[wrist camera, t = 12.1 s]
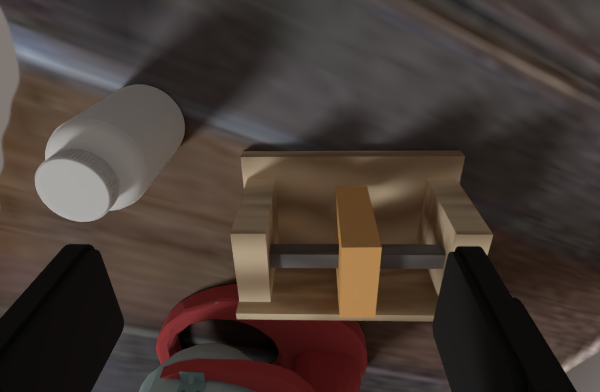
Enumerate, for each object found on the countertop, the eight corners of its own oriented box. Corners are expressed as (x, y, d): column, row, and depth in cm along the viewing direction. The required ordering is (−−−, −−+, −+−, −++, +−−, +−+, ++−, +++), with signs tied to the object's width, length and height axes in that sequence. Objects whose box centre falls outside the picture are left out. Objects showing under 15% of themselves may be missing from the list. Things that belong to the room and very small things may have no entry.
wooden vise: (242, 151, 42) (221, 208, 32) (460, 150, 41) (507, 209, 31) (252, 247, 48) (236, 319, 39) (440, 248, 48) (473, 322, 38)
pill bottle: (192, 94, 39) (132, 159, 26) (181, 164, 43) (124, 249, 30) (111, 70, 38) (6, 125, 25) (107, 144, 42) (16, 223, 29)
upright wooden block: (335, 186, 40) (341, 247, 31) (367, 186, 40) (381, 247, 31) (334, 248, 44) (339, 317, 35) (363, 248, 44) (375, 317, 35)
